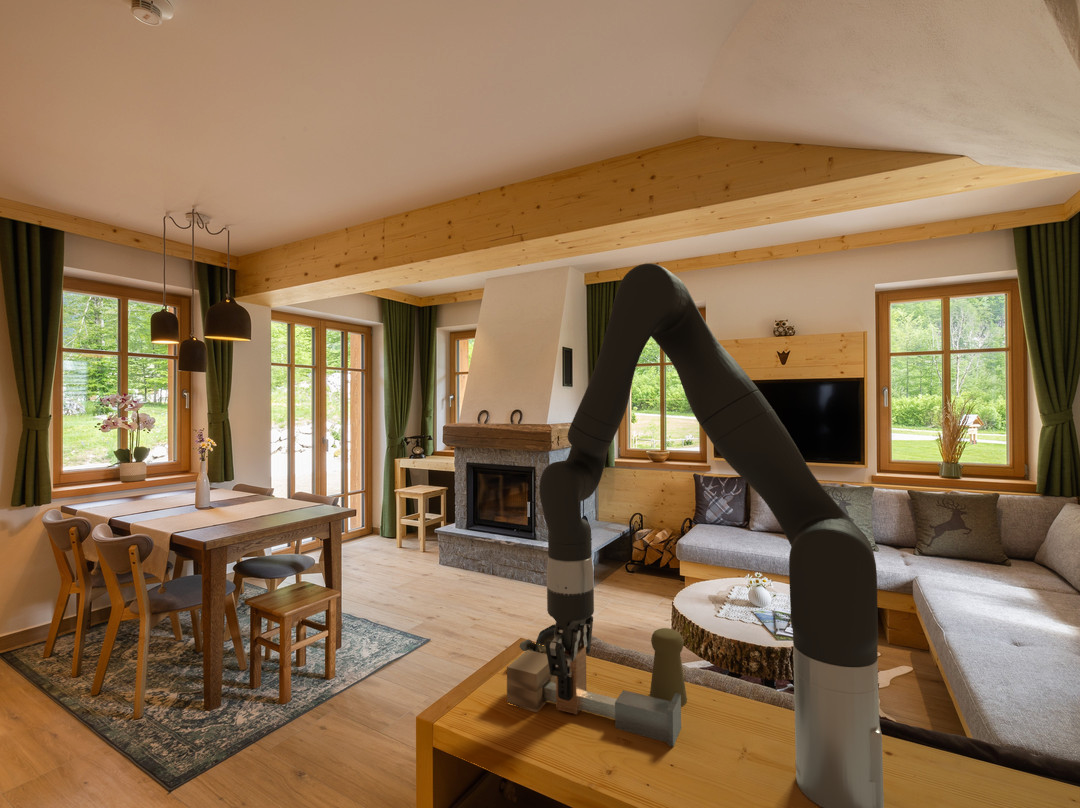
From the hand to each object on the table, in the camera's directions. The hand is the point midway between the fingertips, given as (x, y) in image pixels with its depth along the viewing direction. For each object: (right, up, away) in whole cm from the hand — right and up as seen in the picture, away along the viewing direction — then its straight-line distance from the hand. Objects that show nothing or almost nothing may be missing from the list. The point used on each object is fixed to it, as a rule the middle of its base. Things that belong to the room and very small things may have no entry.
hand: (571, 691), depth 84 cm
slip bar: (+3, -2, -1) cm, 4 cm away
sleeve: (+11, -3, -6) cm, 12 cm away
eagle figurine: (-4, -4, +17) cm, 17 cm away
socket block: (-6, -3, +3) cm, 8 cm away
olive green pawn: (+16, -3, +3) cm, 17 cm away
